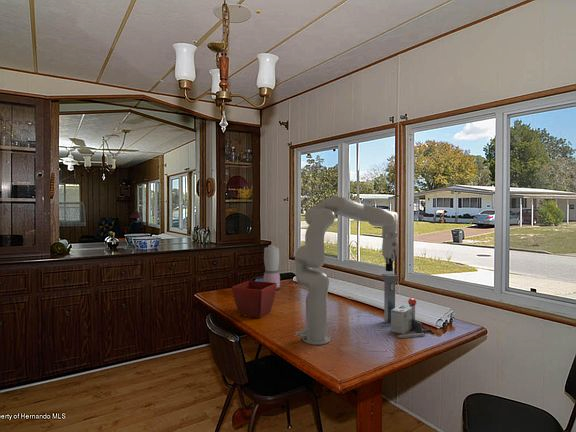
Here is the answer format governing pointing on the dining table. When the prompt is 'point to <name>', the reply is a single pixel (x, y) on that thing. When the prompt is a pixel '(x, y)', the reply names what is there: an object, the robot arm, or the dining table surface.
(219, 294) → the dining table surface
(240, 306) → the plant pot
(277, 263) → the blender
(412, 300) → the lever
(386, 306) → the press frame
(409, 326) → the light bulb box
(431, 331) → the lever track
